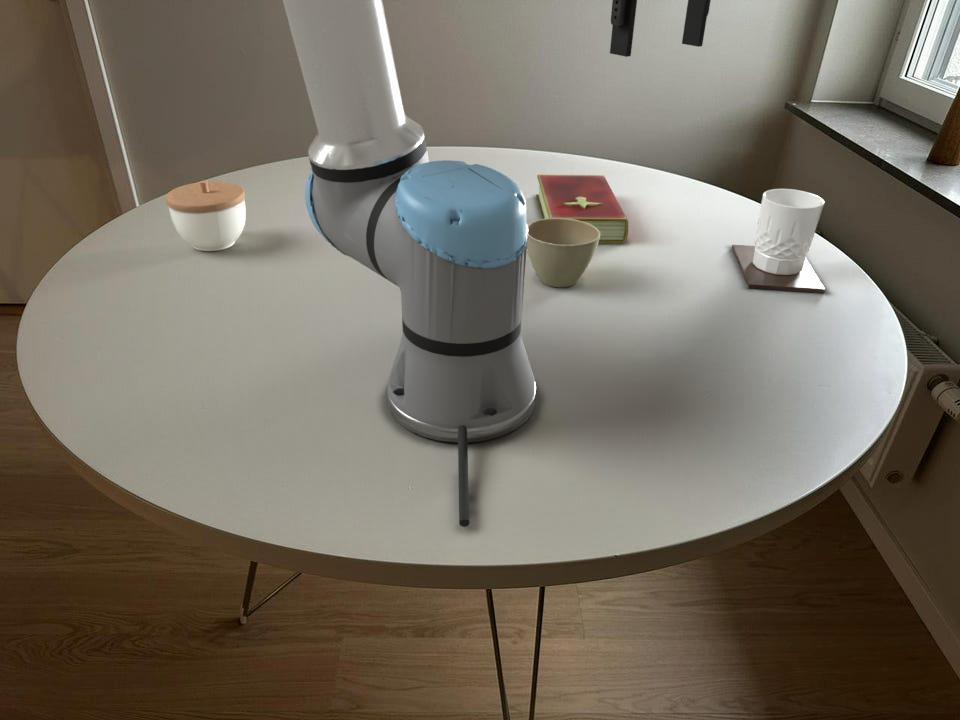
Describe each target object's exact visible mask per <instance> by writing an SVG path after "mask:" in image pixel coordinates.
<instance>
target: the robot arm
mask: <svg viewBox="0 0 960 720" xmlns="http://www.w3.org/2000/svg"><path fill="white" fill-rule="evenodd" d="M281 1H282V4H283V9H284V12H285V15H286V19H287V23H288V26H289V30H290V34H291V37H292V41H293V45H294V49H295V52H296V56H297V60H298V64H299V67H300V71H301V74H302V75H301V76H302V78H303V82H304V85H305V89H306V93H307V96H308V100H309V104H310V107H311V111H312V115H313V119H314V122H315V126H316V129H317V133H316V135H315V137H314V138H313V140H312V141H311V143H310V144H309V147H308V149H307V155H308V160H309V164H310V171H311V172H310V175H309V177H307V178H306V181H305V188H304V195H305V196H304V200H305V206H306V210H307V214H308V217H309V218H310V220H311V223H312V224H313V226H314V228H315V229H316V231H317V232H318V233H319V234H320V235H321V236H322V237H323V239H325V241H326V242H328V243H329V244H330V245H331V246H332V248H334V249H335V250H336V251H338V252H340V253H341V254H342V255H344V256H348V257H349V258H351V259H353V260H354V261H356V262H358V263H359V264H361V265H363V266H364V267H366V268H368V269H369V270H371V271H372V272H374V273H376V274H377V275H379V276H381V277H382V278H384V279H385V280H387V281H389V282H390V283H392V284H393V285H395V286H397V287H398V288H399V290H400V301H401V324H402V325H401V327H402V336H401V338H400V341H399V345H398V348H397V351H396V354H395V356H394V360H393V363H392V366H391V369H390V371H389V372H390V373H389V375H388V379H387V383H386V397H387V406H388V410H389V412H390V414H391V416H392V417H393V418H394V420H395V421H396V422H398V424H400V425H401V426H402V427H403V428H405V429H407V430H408V431H409V432H412V433H413V434H416V435H418V436H420V437H424V438H427V439H431V440H434V441H439V442H447V443H457V459H458V470H457V471H458V524H459V526H460V527H462V528H467V527H468V526H470V521H471V519H470V493H469V492H470V488H469V453H468V452H469V451H468V448H469V447H468V443H477V442H483V441H489V440H493V439H497V438H499V437H503V436H506V435H507V434H509V433H511V432H513V431H515V430H516V429H518V428H520V427H521V426H523V425H524V423H525V422H527V421H528V420H529V418H530V417H531V415H533V411H534V409H535V406H536V393H537V392H536V391H537V386H536V381H535V377H534V373H533V370H532V366H531V364H530V361H529V357H528V354H527V351H526V347H525V344H524V341H523V338H522V320H523V319H522V318H523V304H524V294H525V293H524V290H525V279H526V265H527V252H528V251H527V242H528V239H527V238H528V226H527V225H528V223H527V202H526V198H525V196H524V193H523V191H522V189H521V188H520V186H518V184H517V183H516V182H515V181H514V180H513V179H511V178H510V177H508V175H506V174H504V173H502V172H501V171H499V170H496V169H494V168H491V167H489V166H486V165H483V164H479V163H474V164H468V163H466V161H462V160H448V159H447V160H432V161H430V157H429V153H428V147H427V143H426V137H425V131H424V129H423V127H422V125H420V124H419V123H417V122H416V121H415V120H414V119H412V118H410V117H409V116H407V114H406V113H405V109H404V104H403V100H402V93H401V90H400V85H399V78H398V74H397V69H396V63H395V59H394V53H393V48H392V44H391V37H390V32H389V27H388V23H387V22H388V21H387V18H386V13H385V7H384V3H383V2H384V1H383V0H281ZM611 3H612V4H611V13H610V14H611V15H610V24H611V25H612V28H611V38H610V46H609V47H610V48H609V54H611V55H617V56H620V57H626V58H628V57H631V56H632V49H633V39H634V30H635V29H634V28H635V22H636V12H637V5H638V0H612V2H611ZM710 7H711V0H687V5H686V13H685V20H684V26H683V33H682V40H681V45H687V46H692V47H700V48H701V47H703V44H704V36H705V31H706V25H707V19H708V15H709V13H710Z"/></svg>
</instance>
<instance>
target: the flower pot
mask: <svg viewBox="0 0 960 720" xmlns="http://www.w3.org/2000/svg"><path fill="white" fill-rule="evenodd" d="M527 226H528V238H527V239H528V242H527V251H526V252H527V254H528V258H529V260H530V263H531V266H532V268H533V270H534V272H535V274H536V276H537V278H538V280H539V281H540V282H541V283H543V284H544V285H546V286H549V287H554V288H567V287H568V288H569V287H571V286H574V285H575V284H576V283H578V281H579V280H580V279H581V277H582V276H583V275H584V273H585V272H586V270H587V269H588V267H589V266H590V264H591V262H592V260H593V259H594V256H595V253H596V251H597V249H598V245H599V243H598V242H599V239H600V231H599V230H598V229H597V228H596V227H594V226H593V225H591V224H589V223H586V222H583V221H579V220H574V219H566V218H547V219H542V218H541V219H537V220H534V221H531V222H530V223H527Z"/></svg>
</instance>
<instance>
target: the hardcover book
mask: <svg viewBox="0 0 960 720" xmlns="http://www.w3.org/2000/svg"><path fill="white" fill-rule="evenodd" d="M536 177H537V178H536V179H537V182H538V194H537V193H536V194H535V199H536V201H537V205H538V209H539V213H540V217H541V219H547V218H566V219H574V220H579V221H583V222H586V223H589V224H591V225H593V226H594V227H596V228H597V229H598V230H599V231H600V239H599V242H598V244H608V245H609V244H614V245H620V244H621V245H622V244H625V243H626V242H627V239H628V234H629V227H630V225H629V220H628V218H627V216H626V214H625V213H624V211H623V208H622V207H621V205H620V203H619V201H618V199H617V198H616V195H615V194H614V192H613V190H612V188H611V186H610V184H609V182H608V181H607V179H606V177H605V175H602V174H537V175H536Z"/></svg>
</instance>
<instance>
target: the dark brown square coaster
mask: <svg viewBox="0 0 960 720" xmlns="http://www.w3.org/2000/svg"><path fill="white" fill-rule="evenodd" d="M731 250H732V253H733V255H734V257H735V259H736V262H737V264H738V266H739V269H740V271H741V274H742V276H743V279H744V281H745V283H746V285H747V288H748V289H754V290H755V289H756V290H769V291H783V292H784V291H785V292H788V291H789V292H799V293H814V294H815V293H818V294H825V293H826V288H825V286H824V285H823V283H822V281H821V280H820V278H819V276H818V275H817V273H816V271H815V270H814V269H813V267H812V265H811V264H810V262H809V260H808V259H807V257H806V258H805V261H804V264H803V268H802V270H801V271H800V272H798V273H797V274H792V275H778V274H772V273H768V272H765V271H763V270H761V269H759V268H757V267H756V266H755V265H754V264H753V257H754V252H755V245H745V244H731Z"/></svg>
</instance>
